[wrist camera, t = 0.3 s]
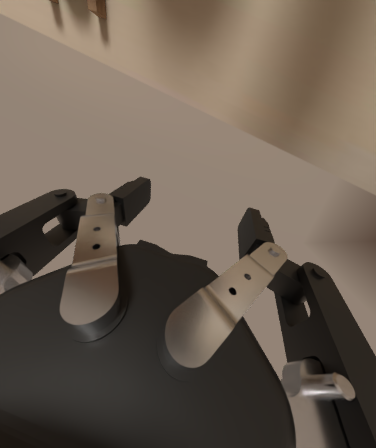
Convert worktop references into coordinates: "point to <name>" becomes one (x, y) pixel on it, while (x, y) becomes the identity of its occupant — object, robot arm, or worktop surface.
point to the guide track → (95, 7)
